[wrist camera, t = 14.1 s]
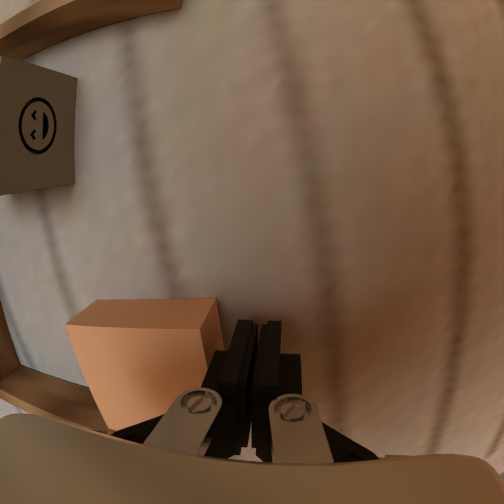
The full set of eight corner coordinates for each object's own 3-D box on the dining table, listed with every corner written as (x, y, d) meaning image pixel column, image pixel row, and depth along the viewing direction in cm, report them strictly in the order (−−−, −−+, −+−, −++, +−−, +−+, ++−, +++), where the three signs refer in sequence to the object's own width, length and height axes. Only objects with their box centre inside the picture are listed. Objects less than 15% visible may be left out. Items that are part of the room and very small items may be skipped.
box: (182, -9, 9) (158, -45, 6) (194, 422, 15) (179, 462, 12) (-17, 67, 11) (-50, 62, 8) (16, 372, 16) (-8, 393, 13)
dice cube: (11, 192, 13) (-60, 207, 8) (12, 102, 11) (-57, 97, 7) (75, 183, 12) (-7, 196, 7) (77, 78, 11) (1, 56, 6)
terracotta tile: (217, 294, 13) (199, 329, 10) (235, 402, 14) (225, 444, 12) (99, 297, 14) (64, 324, 11) (131, 394, 15) (108, 428, 12)
